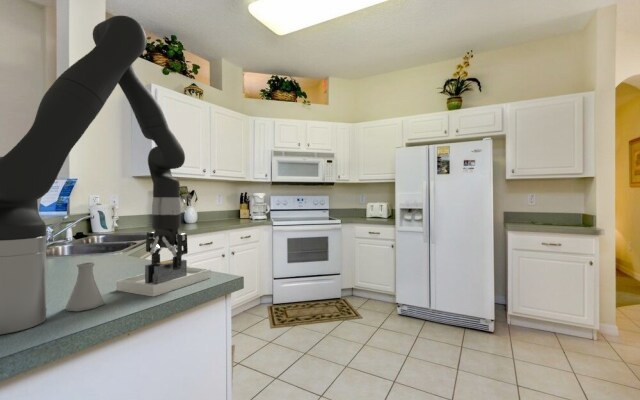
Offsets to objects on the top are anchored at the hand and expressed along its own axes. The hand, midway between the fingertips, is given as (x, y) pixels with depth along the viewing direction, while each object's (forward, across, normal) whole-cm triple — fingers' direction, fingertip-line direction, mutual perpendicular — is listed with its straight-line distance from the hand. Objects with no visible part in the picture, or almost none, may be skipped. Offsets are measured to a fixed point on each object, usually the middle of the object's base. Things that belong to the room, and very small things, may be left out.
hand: (166, 268), depth 88 cm
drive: (+3, 0, 0) cm, 3 cm away
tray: (+5, 0, 0) cm, 5 cm away
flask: (+5, -1, -21) cm, 21 cm away
